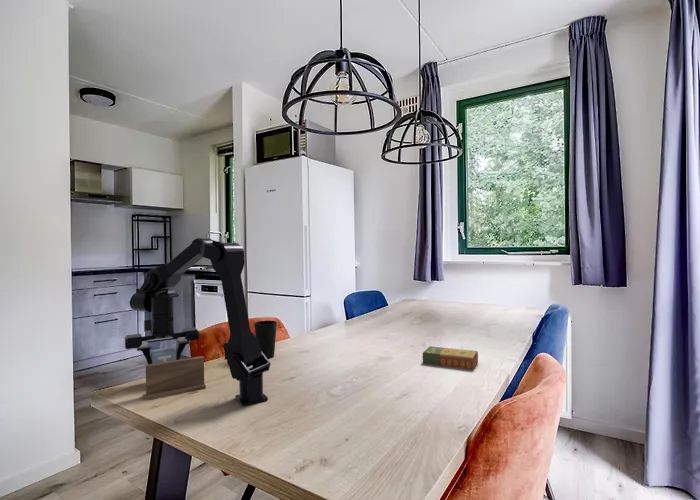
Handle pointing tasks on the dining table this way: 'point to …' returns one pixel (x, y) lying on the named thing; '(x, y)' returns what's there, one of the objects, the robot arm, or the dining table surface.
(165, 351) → the letter cube
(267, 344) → the cup
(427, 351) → the carton
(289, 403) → the dining table surface
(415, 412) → the dining table surface
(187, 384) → the wooden l bracket
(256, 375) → the robot arm
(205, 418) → the dining table surface
